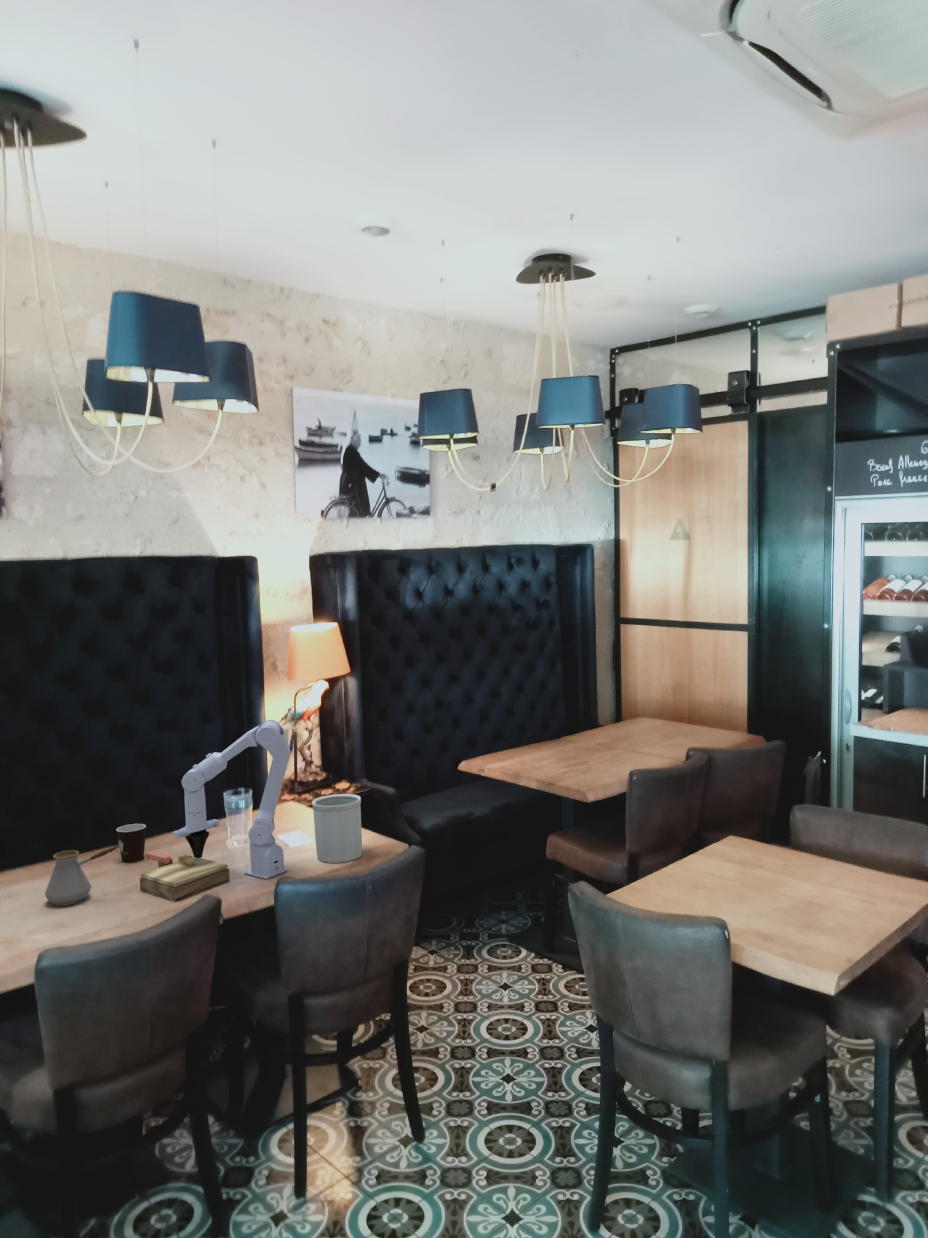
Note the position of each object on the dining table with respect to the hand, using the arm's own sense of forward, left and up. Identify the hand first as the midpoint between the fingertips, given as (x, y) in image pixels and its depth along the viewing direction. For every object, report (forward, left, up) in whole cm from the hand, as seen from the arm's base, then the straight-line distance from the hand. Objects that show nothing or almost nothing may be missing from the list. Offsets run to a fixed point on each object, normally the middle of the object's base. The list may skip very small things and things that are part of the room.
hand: (198, 857), depth 251 cm
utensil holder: (-23, -34, -6) cm, 42 cm away
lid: (-3, +7, -2) cm, 8 cm away
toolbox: (-3, +7, -6) cm, 9 cm away
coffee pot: (+12, +28, -6) cm, 31 cm away
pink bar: (+9, +7, 0) cm, 11 cm away
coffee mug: (+33, 0, -6) cm, 34 cm away
